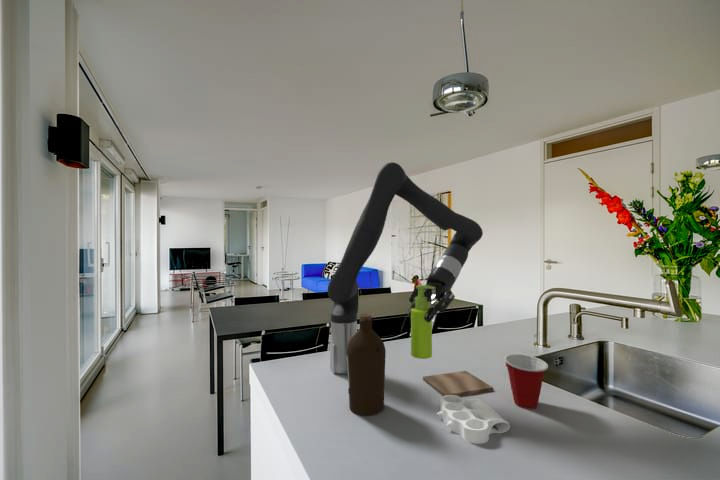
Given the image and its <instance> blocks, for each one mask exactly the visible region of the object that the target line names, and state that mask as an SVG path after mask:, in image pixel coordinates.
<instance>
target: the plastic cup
mask: <svg viewBox="0 0 720 480" xmlns="http://www.w3.org/2000/svg"><path fill="white" fill-rule="evenodd" d="M504 361H505V364H506V368H507V371H508V378H509V384H510V389H511V393H512V398H513V402H514V404H515V405H517V406H518V407H521V408H523V409H531V410H532V409H536V408H537V407H538V405H539V400H540V395H541V390H542V385H543V379H544V376H545V373H546V371H547V370H548V368H549V365H548V363H547V362H546V361H544V360H543V359H541V358H538V357H535V356H532V355H529V354H528V355H527V354H523V353H522V354H521V353H512V354H508V355H505V356H504Z"/></svg>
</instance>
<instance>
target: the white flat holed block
mask: <svg viewBox="0 0 720 480" xmlns="http://www.w3.org/2000/svg"><path fill="white" fill-rule="evenodd" d="M439 401H440V402H439V406H440V407H439V408H440V411H438V412H437V413H436V415H437V416H439V417H441V418H442V422H444V423H446V425H445V427H447V428H448V429H449V430H450V431H452V432H453V433H455V434H458V435H460V436H461V438H463V440H464V441H465V442H467V443H470V444H475V445H483V444H485V443H488V441H489V439H490V435H491V434H503V433H506V432H508V431H509V430H510V428H511V427H510V426H511V425H510V423H509V421H506V420H505V419H503V417H502V416H500V415H499V413H497V411H496V410H494V409H492V408H491V407H490V406H489V405H488V404H487V402H485V401H484V400H482V399H479V398H469V399H467V398H464V397H462V396H455V395H445V396H441V397H440V400H439ZM494 426H495V427H496V428H497V429H496V428H495V427H494Z"/></svg>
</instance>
